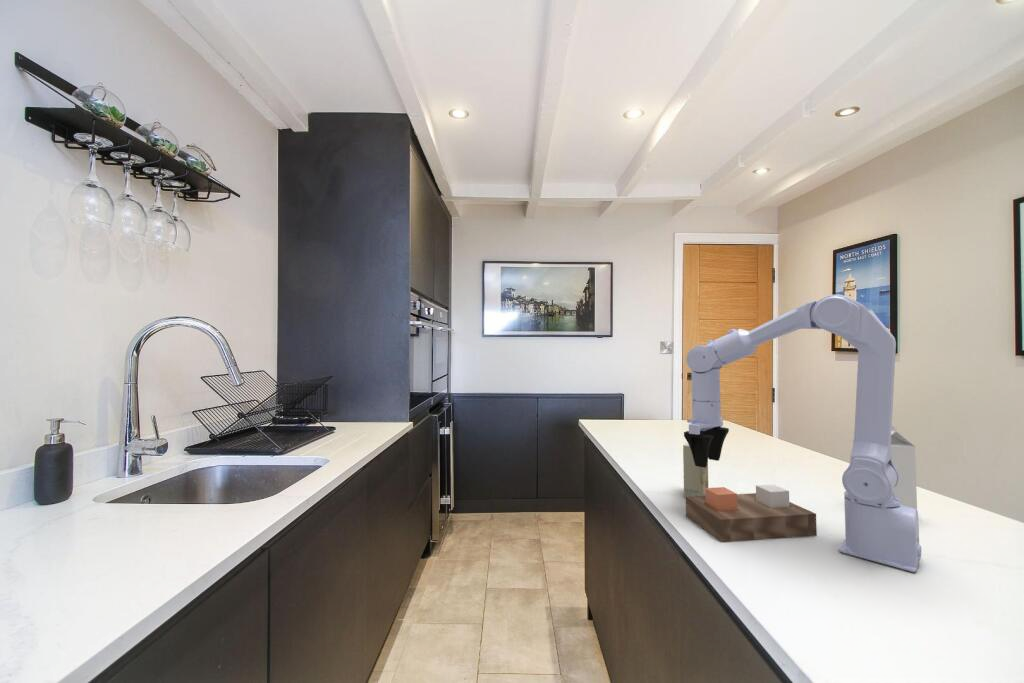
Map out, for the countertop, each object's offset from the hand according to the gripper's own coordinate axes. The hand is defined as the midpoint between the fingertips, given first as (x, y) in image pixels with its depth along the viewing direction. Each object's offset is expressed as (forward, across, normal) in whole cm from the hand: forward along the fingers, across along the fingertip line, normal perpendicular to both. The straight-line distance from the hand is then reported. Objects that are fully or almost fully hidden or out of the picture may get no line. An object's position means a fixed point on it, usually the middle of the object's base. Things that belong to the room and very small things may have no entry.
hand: (707, 463), depth 91 cm
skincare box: (+10, -7, -5) cm, 14 cm away
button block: (+10, +4, +9) cm, 14 cm away
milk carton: (+10, -23, +27) cm, 37 cm away
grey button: (+7, -1, +12) cm, 14 cm away
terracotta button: (+7, +8, +5) cm, 12 cm away
